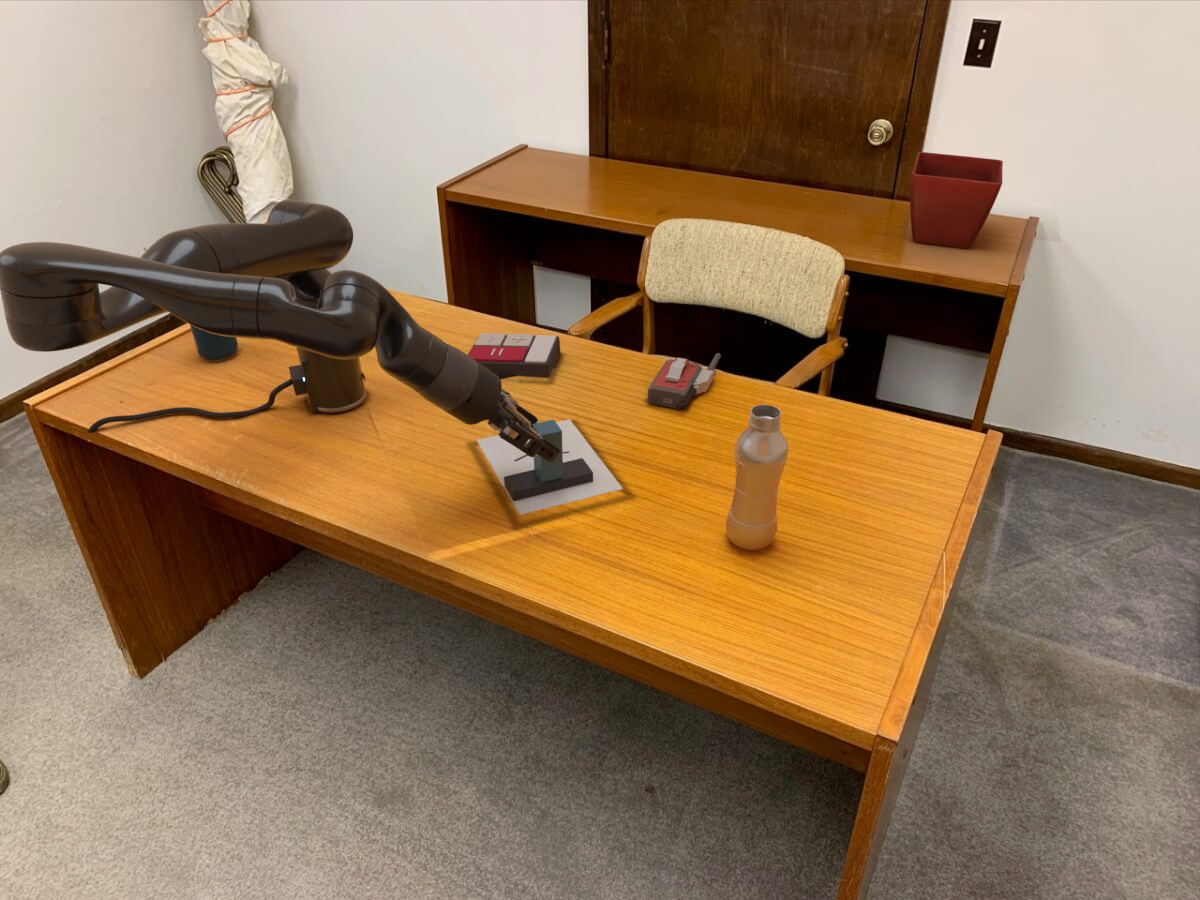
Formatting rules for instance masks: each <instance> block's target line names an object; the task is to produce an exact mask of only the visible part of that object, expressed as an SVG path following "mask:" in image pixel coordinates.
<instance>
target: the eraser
mask: <svg viewBox="0 0 1200 900" xmlns="http://www.w3.org/2000/svg"><path fill="white" fill-rule="evenodd" d="M556 422H557V421H555V420H554V419H549V420H544V421H539V422H537V423H535V424H532V429H534V430H535V431H536V432H537V433H538V434H540V435H541V436H542V437H543V438H545V439H547V440H548V441H550V442H551V443H553V444H554V445H556V446H557V447H558V448H559V449H560V453H559V454H558V455H557V457H556V458H555V459H554V460H553V461H551V462H549V461H547V460H546V459H544V458H543V457H541V456H539V455H538V454H535V456H534V470H530V471H526V472H522V473H517V474H513V475H509V476H505V477H504V485H505V487H506V489H507V491H508V493H509V494H510V496H511V498H512V499H513V501H517V500H521V499H525V498H529V497H533V496H537V495H541V494H545V493H549V492H553V491H557V490H561V489H565V488H569V487H573V486H577V485H581V484H585V483H589V482H593V472H592V470H591V469H590V468H589V466H588V465H587V464H586V462H585V461H584V459H583V458H580V459H576V460H572V461H568V462H563V453H562V430H561V429H560V427H559V426H558V425H557V423H556Z"/></svg>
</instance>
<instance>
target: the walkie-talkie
mask: <svg viewBox="0 0 1200 900" xmlns="http://www.w3.org/2000/svg"><path fill="white" fill-rule="evenodd" d="M721 358H722V355H721V353H720V352H717V353H715V355H714V357H713V358H712V360H711V361H710V363H709V365H708V367H707V368H706V369H705V368H703V367H702V365H700V364H699V363H697V362H691V361H690V359H689V358H683V357H675V359H667V360H665V362H664V364H663V365H662V366H661V368H660V369H659V371H658V373H657V374H656V375H655V377H654V379H653V380H652V382H651V383H650V385H649V386H648V388H647V401H648V403H649V404H651V405H654V406H661V407H666V408H669V409H671V408H672V409H675V410H676V409H677V410H681V409H684V408H686V407H687V405H688V403H689V402H690V400H691V398H692V396H693V395H695V396H696V395H699V394H702V393H706V392H707V391H708V389H709V387H710V385H711V383H713V382H714V376H715V371H714V370H715V369H716V367H717V365H718V363H719V361H720V359H721Z"/></svg>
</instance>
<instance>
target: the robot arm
mask: <svg viewBox="0 0 1200 900" xmlns="http://www.w3.org/2000/svg"><path fill="white" fill-rule="evenodd" d="M353 241H354V230H353V227H352V224H351V221H350V220H349V218H347V216H346V215H345V214H344V213H342V212H341V211H340V210H338V209H336V208H335V207H333V206H330V205H326V204H322V203H317V202H309V201H305V200H304V201H303V200H296V199H284V200H281V201H279V202H277V203H275V205H274V206H273V207H272V208H271V210H270V211H269V213H268V217H267V221H266V223H254V222H252V223H251V222H226V223H225V222H223V223H222V222H221V223H210V224H209V223H208V224H202V225H197V226H193V227H187V228H183V229H179V230H174V231H171V232H169V233H166V234H165V235H163V236H161V237H160V238H158V239H157V240H156V241H155V242H154V243H153V244H152V245H150V246H149V247H148V248H147V250H146V251H145V252H143V254H142V255H141V256H140V257H138V256H135V255H134V256H133V255H129V254H125V253H118V252H113V251H109V250H105V249H98V248H94V247H89V246H84V245H78V244H73V243H66V242H65V243H64V242H55V241H31V242H30V241H29V242H23V243H18V244H15V245H14V244H13V245H11V246H8V247H6V248H4V249H2V251H0V295H1V301H2V306H3V307H2V308H3V311H4V317H5V322H6V326H7V330H8V333H9V335H10V337H11V339H12V341H13V342H14V343H15V344H16V345H17V346H18V347H20V348H22V349H24V350H27V351H32V352H38V353H39V352H43V353H46V352H47V353H48V352H49V353H51V352H58V351H59V352H61V351H65V350H71V349H73V348H74V349H75V348H77V347H81V346H85V345H88V344H91V343H94V342H96V341H99V340H101V339H103V338H106V337H109V336H111V335H114V334H116V333H118V332H121V331H123V330H125V329H127V328H130V327H132V326H135V325H137V324H139V323H142V322H144V321H146V320H149V319H151V318H154V317H157V316H160V315H163V314H165V313H170V314H171V315H173V316H174V317H176V318H178V319H180V320H182V321H183V322H184V323H186V324H188V325H189V326H190V325H192V326H194V327H196V328H198V329H201V330H203V331H206V332H209V333H212V334H216V335H220V336H227V337H236V338H240V339H241V338H242V339H254V340H255V339H256V340H270V341H271V340H272V341H276V342H280V343H283V344H286V345H289V346H292V347H295V348H296V352H297V353H296V354H297V357H298V358H297V359H298V362H299V364H296V365H291V366H288V370H289V375H290V378H289V379H288V380H286V381H285V382H283V383H281V384H279V385H277V386H276V387H275V388H274V389H273V390H271V392H270V393H269V396H268V399H267V400H268V401H267V402H265V403H264V404H262V405H260V406H258V407H256V408H252V409H248V410H239V411H227V412H217V411H210V410H207V409H203V408H198V407H193V406H192V407H188V406H185V407H184V406H182V407H170V408H163V409H157V410H153V411H149V412H148V411H147V412H143V413H138V414H127V415H113V416H106V417H103V418H101V419H98V420H96V421H95V422H94V423H92V424H91V425H90V427H89V428H88V430H87V433H88V434H91V433H95V432H96V431H97V430H98V429H99V428H100V427H103V426H104V425H106V424H111V423H117V422H118V423H119V422H133V421H141V420H147V419H150V418H157V417H160V416H166V415H173V414H186V413H188V414H195V415H200V416H203V417H207V418H213V419H229V418H231V419H232V418H244V417H249V416H252V415H256V414H260V413H262V412H264V411H265V412H266V411H267V410H268V409H270V408H271V407H272V406H273V405H274V403H275V401H276V397H277V395H278V394H279V393H280V392H282V391H283V390H285V389H287V388H289V387H291V386H292V388H293V391H294V394H295V396H296V397H297V396H302V395H305V396H306V400H307V404H308V406H309V408H310V413H312V414H315V413H323V414H338V413H344V412H347V411H351V410H353V409H356V408H357V407H360V405H362V404H363V403H364V401H366V398H367V392H366V388H365V383H366V382H367V381H366V375H365V373H364V372H363V370H362V365H361V360H360V358H361V357H363V356H366V355H368V354H370V352H371V351H373V350H374V348H375V351H376V352H375V353H376V356H377V361H378V365H379V367H380V368H381V369H382V371H384V372H385V373H386V374H387V375H389V376H390V377H391V378H393V379H395V380H397V381H398V382H400V383H402V384H403V385H404V386H406V387H408V388H410V389H412V390H413V391H415V392H416V393H417V394H418V395H420V396H421V397H422V398H423V399H424V400H426V401H427V402H429V403H430V404H433V405H434V406H435V407H437V408H439V409H440V410H442V411H444V412H445V413H447V414H449V415H450V416H452V417H453V418H455V419H457V420H458V421H460V422H462V423H464V424H465V425H469V426H473V425H477V424H480V423H481V422H484V421H487V425H488V426H489V427H491V428H492V430H494V431H498V432H499V433H498V435H499V436H500V438H501V439H504V440H505V441H507V442H508V443H510V444H511V445H513V446H515V447H516V448H518V449H519V450H521V451H522V452H524V453H526V454H527V455H528V456H529V457H532V458H533V457H534V456H535V454H538V455H539V456H541V457H543V458H544V459H546V460H547V461H549V462H551V461H553V460H554V459H555V458H556V457H557V455H558V454H559V453H560V449H559V448H558V447H557V446H556V445H554V444H553V443H551V442H550V441H548V440H547V439H545V438H543V437H542V436H541V435H540V434H538V433H537V432H536V431H535V430H534V429H532V424H535V423H538V422H539V420H538V419H539V418H537V416H536V415H534V414H533V413H532V412H530V411H528V410H527V409H525V408H524V407H522V406H521V405H520V403H519V402H518V401H517V400H516V399H514V398H513V397H512V395H511V393H510V392H508V391H506V390H504V389H503V385H502V384H503V383H502V380H501V378H499V377H498V376H497V375H496V374H495V373H493V372H492V371H490V370H489V369H487V368H486V367H484V366H483V365H481V364H480V363H478V362H477V361H475V360H474V359H473V358H471V357H470V356H468V354H466V353H465V352H463V351H462V350H461V349H459V348H457V347H455V346H453V345H451V344H449V343H447V342H445V341H444V340H442V339H440V338H439V337H437V336H436V335H435V334H433V333H432V332H430V331H429V330H427V329H426V328H424V327H422V325H421V326H420V325H419V324H418V323H417V321H415V319H414V318H413V316H412V315H411V314H410V313H409V312H408V311H407V310H406V308H405V307H404V306H403V305H402V304H401V303H400V302H399V301H398V300H397V298H395V297H394V295H392V294H391V292H390V291H389V290H388V289H387V288H386V287H385V286H383V285H382V284H381V283H380V282H379V281H377V280H376V279H374V278H373V277H371V276H369V275H368V274H365V273H363V272H360V271H357V270H351V269H350V270H349V269H347V270H346V269H343V270H342V269H341V270H338V271H335V272H331V271H330V270H329V269H330V268H333V267H335V266H336V265H337V266H338V264H340V263H341V262H342V261H343V260H344V259H345V258H346V257H347V256H348V254H349V253H350V252H351V248H352V245H353ZM99 285H104V286H109V287H108V288H107V289H105V290H103V291H101V292H100V286H99ZM529 439H530V441H529V442H528V443H526V442H527V441H528V440H529Z"/></svg>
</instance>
